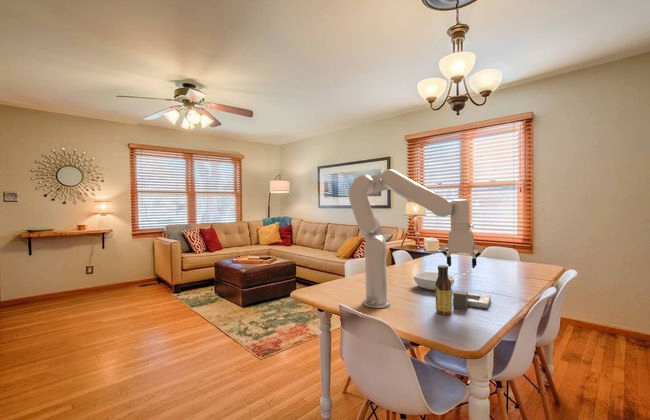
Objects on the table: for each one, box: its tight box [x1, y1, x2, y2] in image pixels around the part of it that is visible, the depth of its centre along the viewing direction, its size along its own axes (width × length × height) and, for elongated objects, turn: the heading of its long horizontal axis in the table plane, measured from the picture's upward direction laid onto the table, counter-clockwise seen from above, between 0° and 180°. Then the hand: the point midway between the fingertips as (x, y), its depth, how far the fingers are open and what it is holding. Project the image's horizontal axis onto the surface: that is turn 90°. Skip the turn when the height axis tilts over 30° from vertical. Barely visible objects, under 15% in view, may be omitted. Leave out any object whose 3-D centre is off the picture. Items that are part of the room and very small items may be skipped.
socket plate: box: [452, 290, 492, 310], centre depth 141 cm, size 14×14×3 cm
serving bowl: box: [413, 271, 456, 291], centre depth 166 cm, size 21×21×7 cm
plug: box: [452, 289, 469, 312], centre depth 134 cm, size 5×5×7 cm
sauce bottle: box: [434, 264, 453, 316], centre depth 128 cm, size 6×6×20 cm
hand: (461, 266), depth 133 cm, fingers open, 9 cm apart
